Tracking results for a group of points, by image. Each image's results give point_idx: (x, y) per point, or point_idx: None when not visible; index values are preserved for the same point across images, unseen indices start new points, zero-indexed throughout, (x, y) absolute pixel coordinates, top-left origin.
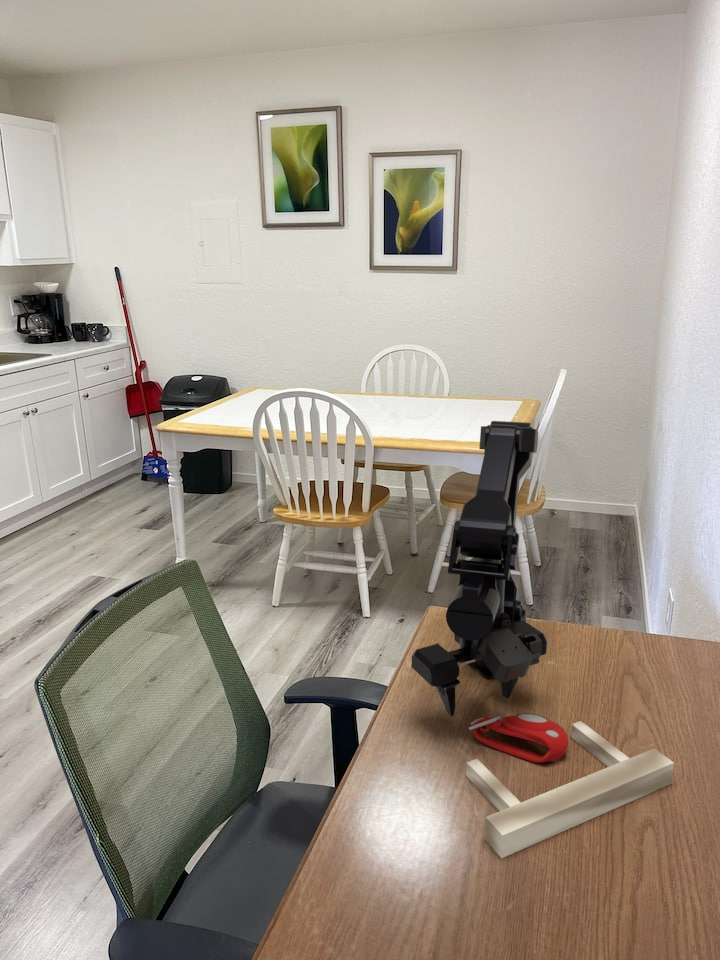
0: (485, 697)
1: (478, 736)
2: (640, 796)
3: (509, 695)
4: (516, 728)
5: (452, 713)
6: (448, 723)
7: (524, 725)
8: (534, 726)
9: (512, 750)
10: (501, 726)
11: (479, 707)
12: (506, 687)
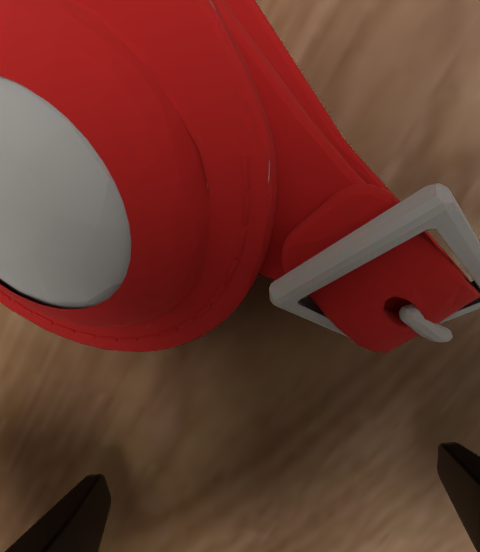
0: (183, 512)
1: (431, 239)
2: None
3: (79, 487)
4: (226, 77)
5: (468, 456)
6: (438, 417)
7: (133, 90)
8: (43, 21)
9: (285, 64)
10: (291, 222)
11: (242, 466)
12: (68, 550)
